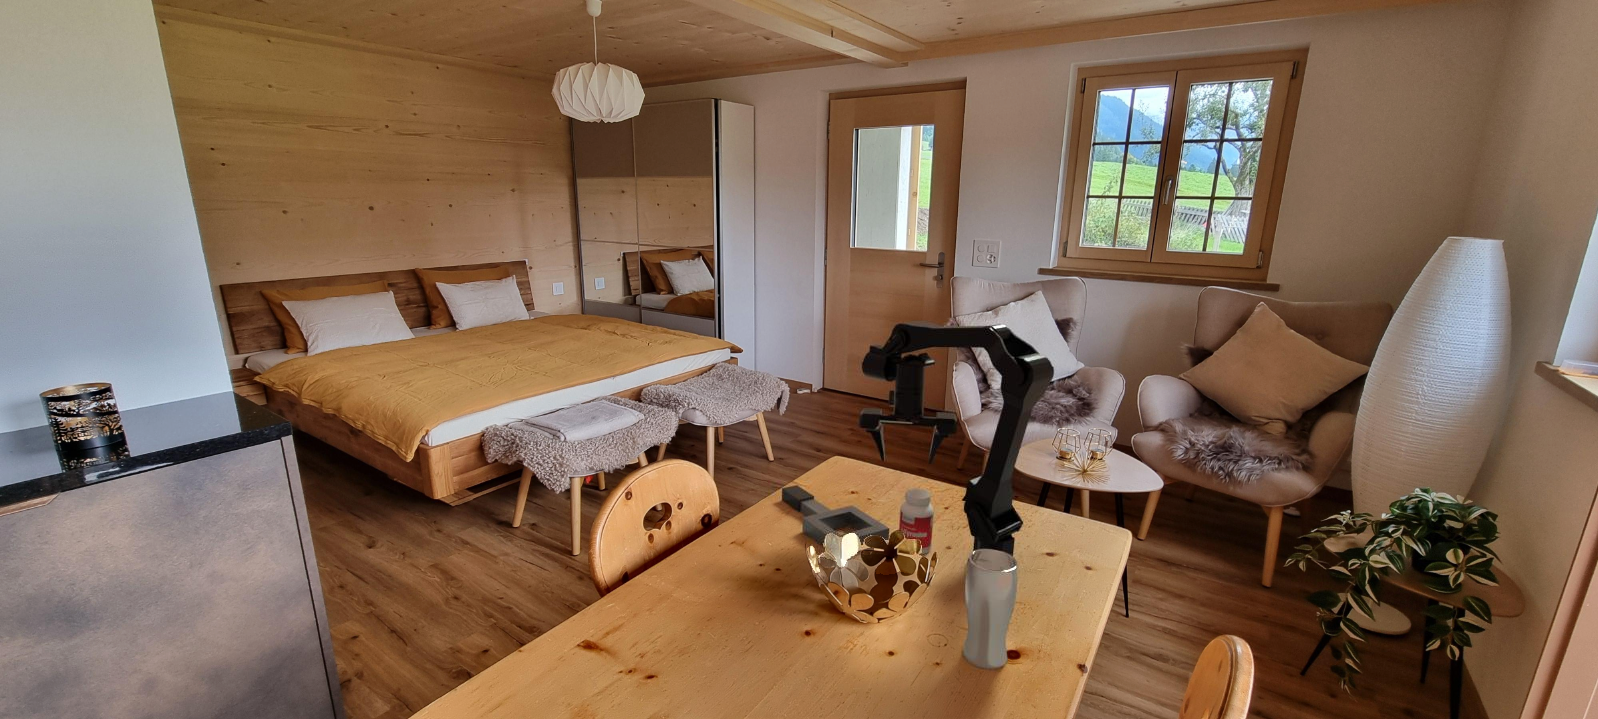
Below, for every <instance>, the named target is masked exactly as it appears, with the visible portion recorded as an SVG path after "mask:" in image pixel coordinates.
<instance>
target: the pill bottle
mask: <svg viewBox="0 0 1598 719" xmlns="http://www.w3.org/2000/svg"><path fill="white" fill-rule="evenodd" d="M931 496H932V495H931V492H929V491H928V490H925V489H923V488H922V489H921V488H909V489H907V490H905V493H904V500H905V501H903V502H902V503H901V505H900V510H899V524H898V525H899V527H898V532H899V531H903V533H904V535H905V538H906V539H919V540H920V541H921V545H922V554H921V555H925V554H927V553H929V552H930V551H931V549H932V540H933V525H934V514H935V512H934V511H935V509H934V507H933V505H932V504H931V501H932V500H931V498H932V497H931Z"/></svg>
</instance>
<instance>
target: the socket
mask: <svg viewBox="0 0 1598 719" xmlns="http://www.w3.org/2000/svg"><path fill="white" fill-rule="evenodd" d="M781 501H782V502H783V503H785V504H786V505H787V506H789V507H790V508H792V509H794V510H795V511H796V512H797V513H801V514H802V515H804V516H803V517H802V529H801V530H802V533H803V534H804V535H806V536H807V537H809V538H810V539H811V540H813V541H814V542H816V543H817V544H818V545H819V546H820V547H822V548H824V547H823V543H824V539H825V536H826V535H827V534H829V533H833V534H835V535H837V536H839V537H843V536H844V535H846V534H848V533H855V534H856V535H857V536H858V537H859V539H860V542H861V545H863V542H864V539H865V538H866V537H868V536H870V535H878V536H881V537H883V538H884V539H885V540H889V541H890V527H888V526H886V525H885V524H883V523H882V522H880V521H879V520H877V519H876V518H873V517H872V516H870V515H869V514H867V513H866V512H864V511H862V510H861V509H859V508H857V507H855V506H854V505H852V504H851V505H848V506H844V507H840V508H837V509H830V508H829V507H827V506H825V505H824V504H822V503H821V502H819V501H818V500H816V499H815V496H814V495H813V494H812V493H810V492H809V491H807V490H805V489H804V488H803V487H800V485H798V484H795V485H790V486H786V487H782V488H781ZM845 527H851V528H852V529H854V530H855V531H850V532H847V533H843V534H840V533H838V531H836V530H838V529H841V528H845Z"/></svg>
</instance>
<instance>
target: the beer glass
mask: <svg viewBox="0 0 1598 719" xmlns="http://www.w3.org/2000/svg"><path fill="white" fill-rule="evenodd" d="M968 558H969V562H968V565H967V567H966V568H967V569H966V574H965V576H966V577H965V582H964V583H965V584H964V585H965V586H964V598H965V610H966V617H967V618H966V619H967V620H966V621H967V633H966V634H967V635H966V638H965V641H964V645H963V650H962V654H963V657H964V658H965V659H966V660H967V661H968V662H969V663H970V664H972V665H974V666H975V667H978V668H981V669H985V670H995V669H1000V668H1002V667H1004V666H1005V665H1006V663H1007V661H1008V654H1007V653H1008V651H1007V643H1006V642H1007V633H1008V630H1009V626H1010V623H1011V620H1012V616H1013V614H1014V610H1015V606H1016V603H1017V602H1016V601H1017V594H1018V579H1019V578H1018V573H1019V572H1018V569H1019V562H1018V560H1017V559H1016V557H1014V555H1013V556H1011V555H1010V554H1008V553H1005V552H1003V551H999V550H995V549H979V550H975V551H973V550H972V552H970V554H969V556H968Z"/></svg>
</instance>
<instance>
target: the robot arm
mask: <svg viewBox="0 0 1598 719" xmlns="http://www.w3.org/2000/svg"><path fill="white" fill-rule="evenodd" d="M934 348H965V349H966V348H971V349H972V348H973V349H975V348H976V349H977V348H978V349H979V348H981V349H982V348H983V349H984V350H985V351H986V353H987V355H988V357H989V359H990V362H991V365H992V367H993V368H994V369H995V371H997V372H998V374H999V375H1000V376H1001V378H1000V379H1001V380H1000V393H1001V396H1002V400H1003V401H1002V402H1003V405H1002V408H1001V411H1000V413H999V418H998V421H997V426H996V427H995V428H996V429H995V431H994V432H995V433H994V435H993V439H992V441H991V445H990V449H989V452H988V456H987V459H986V463H985V466H984V469H983V471H982V472H983V473H982V475H980V476H978V477H975V478H973V479H970V480H968V481H967V483H966V486H965V487H966V490H965V493H964V495H963V497H962V498H961V501H962V502H964V503H963V512H964V514H965V515H966V519H967V523H968V524H967V525H968V527H969V532H970V535H971V536H972V537H973V547H972V552H973V551H975V550H979V549H995V550H999V551H1003V552H1005V553H1008V554H1010V555H1011V556H1013V557H1014V550H1015V540H1016V538H1015V537H1014V536H1013V534H1015V533H1016V532H1017V533H1018V532H1020V531H1021V529H1022V527H1023V525H1024V520H1023V519H1022V517H1021V516H1020V514H1019V513H1018V511H1017V510H1016V509H1015V507H1014V506H1013V500H1014V489H1013V486H1012V483H1011V482H1012V481H1011V480H1012V476H1013V473H1014V469H1015V466H1016V463H1017V460H1018V458H1019V453H1020V449H1021V446H1022V444H1023V440H1024V437H1025V435H1026V431H1027V428H1028V424H1029V420H1030V418H1031V415H1032V411H1033V409H1034V407H1035V406H1036V405H1037V404H1038V403H1039V401H1040V400H1041V398H1042V397H1043V396H1044V395H1045V394H1046V391H1048V387H1049V386H1050V384H1051V382H1052V380H1053V378H1054V375H1055V367H1054V366H1053V365H1052V362H1051V360H1049V358H1048V357H1047V356H1045V355H1044V354H1041V353H1040V352H1039V351H1038V350H1036V348H1035V347H1034V346H1032V344H1030V343H1028V342H1027V341H1025V340H1023V339H1022V338H1020V336H1018V335H1016V334H1015V333H1014V332H1013V331H1012V330H1011V329H1010V328H1009V327H1008V326H1007V325H1004V324H1002V323H998V324H992V325H960V326H959V325H957V326H956V325H955V326H943V325H938V324H936V323H934V322H929V321H924V320H916V321H908V322H901V323H897V324H895V325H894V326H893V329H892V332H891V334H890V336H889V337H888V339H887V341H886V342H885V344H884V345H883V346H882V345H881V344H873V345H869V350H868V351H867V353H866V354H865V356H864V358H863V361H862V362H861V370H862V373H863V374H864V376H865V377H867V378H872V379H874V380H875V379H876V380H880V381H884V382H891V383H892V382H894V390H889V394H888V406H889V407H893V414H890V413H889V414H888V413H886V414H885V413H883V411H882V410H883V409H882V408H872V407H871V408H870V407H869V408H868V407H864V408H863V409H862V410H861V413H860V415H859V418H858V419H859V423H858V424H859V425H858V428H860V429H865V433H867V434H870V435H871V437H872V439H873V440H874V443H875V445H876V447H877V450H878V453H879V456H880V458H881V461H882V462H885V459H886V458H885V457H886V451H885V449H886V448H885V441H884V440H885V439H884V425H899V426H900V425H901V426H914V427H916V426H918V427H929V428H930V427H931V428H934V429H933V433H932V434H933V435H932V440H931V445H930V450H929V451H930V452H929V457H928V465H929V466H930V465H932V463H933V462H934V458H935V457H936V453H937V451H938V449H939V447H940V445H941V444H942V442H943V440H945V439H949V438H950V435H956V434H957V433H958V431H957V430H958V416H957V415H956V413H954V412H939V411H937V412H936V417H935V416H924V414H925V412H924V411H925V398H924V397H925V378H926V376H925V375H926V367H930V366H935V364H936V361H935V360H933V358H931V357H930V356H929V353H927V352H921V353H919V354H918V355H917V354H913V353H915V352H918V351H924V350H930V349H934ZM911 353H912V354H911ZM904 354H905V355H904ZM902 355H904V356H902ZM967 562H968V563H969V557H968V558H967Z"/></svg>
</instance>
